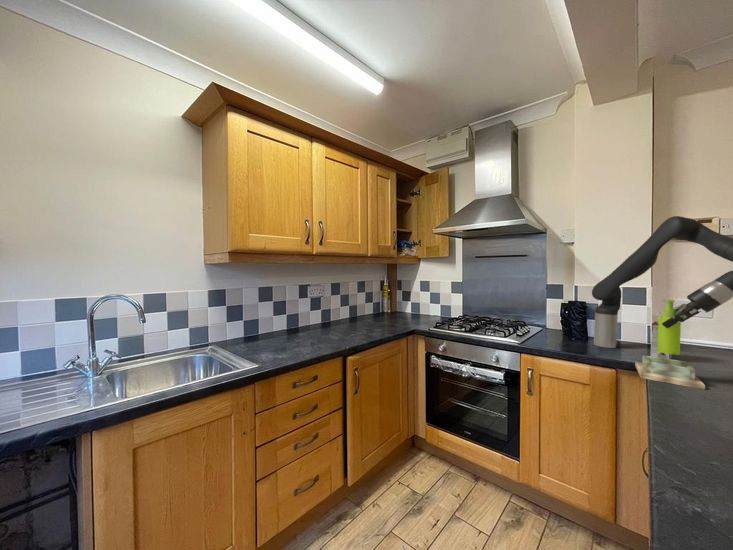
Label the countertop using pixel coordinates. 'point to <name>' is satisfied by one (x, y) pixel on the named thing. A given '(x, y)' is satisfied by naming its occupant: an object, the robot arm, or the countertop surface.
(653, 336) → the coffee box
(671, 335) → the soap dispenser
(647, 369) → the dispenser caddy
